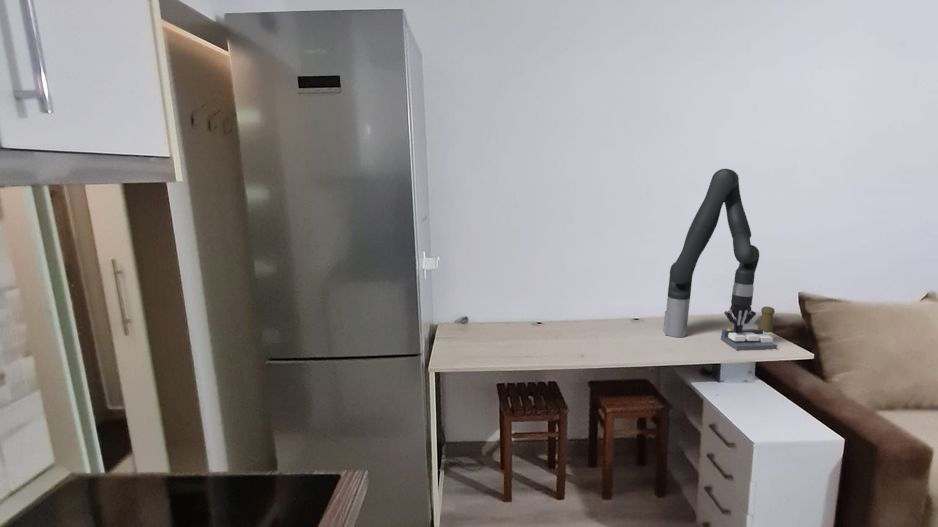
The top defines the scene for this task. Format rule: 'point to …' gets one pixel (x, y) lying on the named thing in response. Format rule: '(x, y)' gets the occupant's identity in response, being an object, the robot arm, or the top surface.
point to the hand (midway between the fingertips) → (737, 332)
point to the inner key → (736, 337)
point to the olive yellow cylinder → (766, 319)
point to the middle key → (751, 336)
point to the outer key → (764, 338)
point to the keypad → (746, 341)
